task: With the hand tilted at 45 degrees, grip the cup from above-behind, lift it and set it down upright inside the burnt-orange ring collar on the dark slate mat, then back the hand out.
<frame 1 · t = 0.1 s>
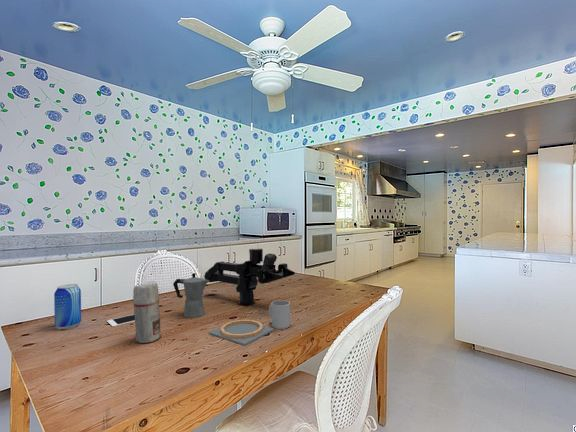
hand: (288, 275, 131), 17 cm above the table, tool horizontal, fingers open, 9 cm apart
spray can: (148, 339, 105), on the table
collar mat: (242, 331, 110), on the table
cup: (278, 325, 117), on the table
coffeepot: (191, 314, 130), on the table
cell phone: (133, 320, 126), on the table
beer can: (68, 327, 118), on the table
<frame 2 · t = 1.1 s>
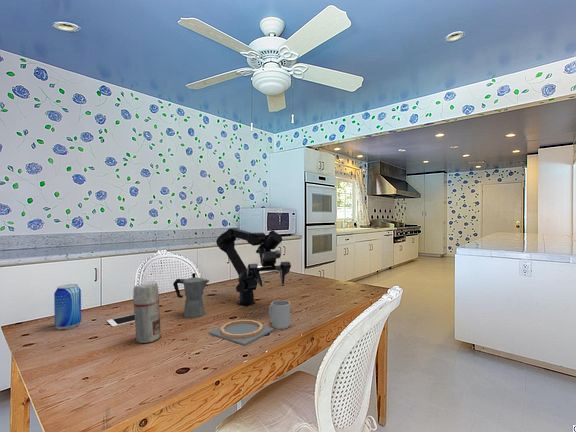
hand: (272, 285, 124), 14 cm above the table, tool tilted 45°, fingers open, 9 cm apart
nothing on the table moved.
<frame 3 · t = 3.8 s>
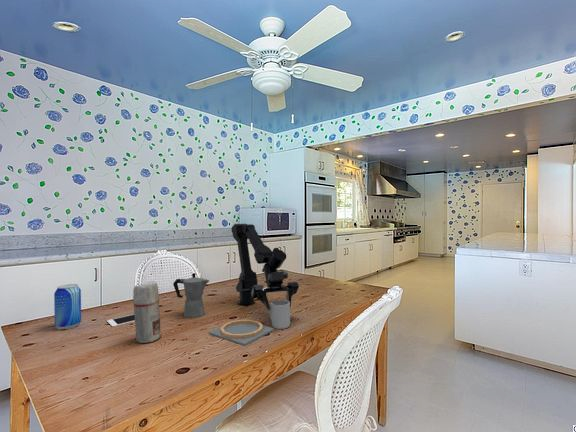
hand: (279, 308, 115), 7 cm above the table, tool tilted 45°, fingers open, 8 cm apart
cup: (278, 325, 117), on the table, touching gripper
everything else where it was.
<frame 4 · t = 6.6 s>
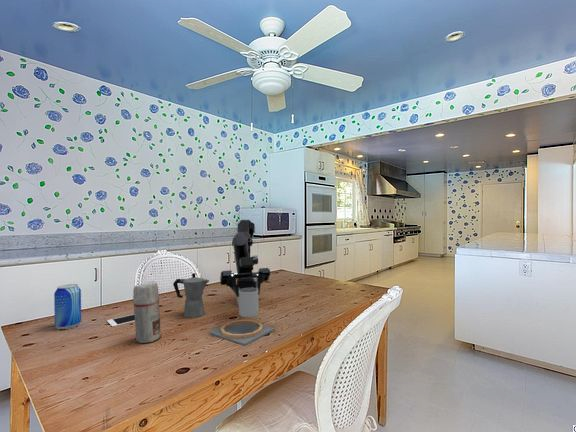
hand: (248, 295, 110), 13 cm above the table, tool tilted 45°, fingers closed on cup, 7 cm apart
cup: (246, 313, 111), point 6 cm above the table, touching gripper
everything else where it was.
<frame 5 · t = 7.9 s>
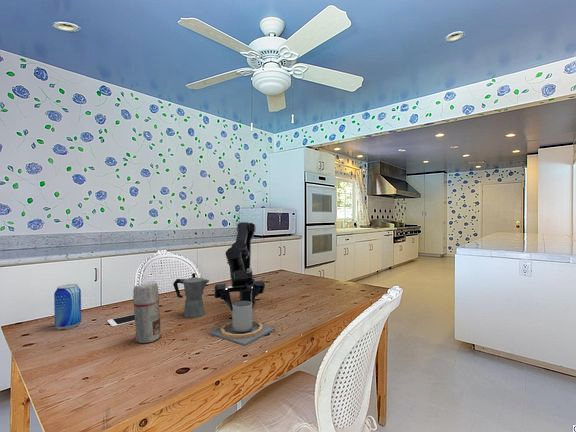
hand: (242, 309, 109), 9 cm above the table, tool tilted 45°, fingers closed on cup, 7 cm apart
cup: (240, 327, 110), point 2 cm above the table, touching gripper
everything else where it was.
when the fingers open (8 cm above the table, at t = 9.0 s): cup stays where it is, resting on collar mat.
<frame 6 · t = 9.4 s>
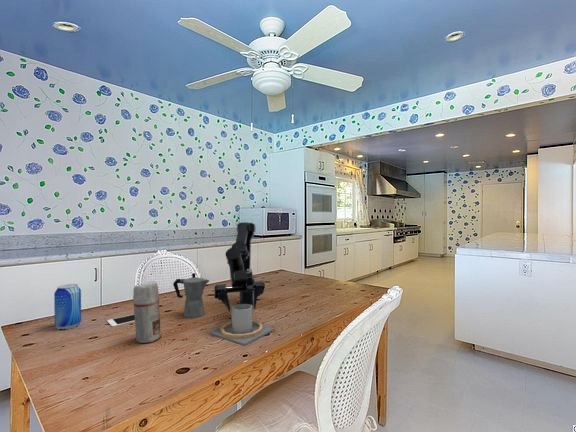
hand: (242, 309, 109), 9 cm above the table, tool tilted 45°, fingers open, 9 cm apart
cup: (240, 330, 110), resting on collar mat
everything else where it was.
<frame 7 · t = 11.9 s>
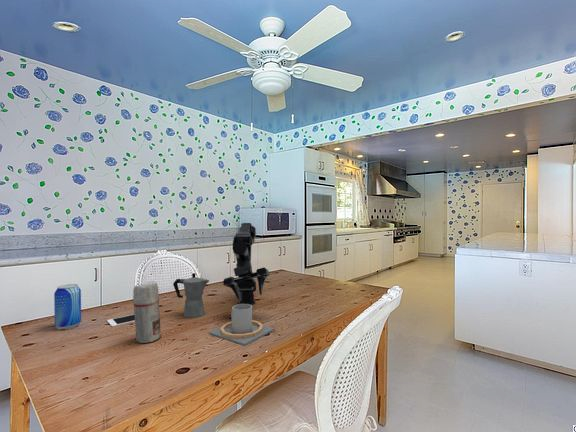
hand: (250, 297, 122), 9 cm above the table, tool tilted 25°, fingers open, 9 cm apart
nothing on the table moved.
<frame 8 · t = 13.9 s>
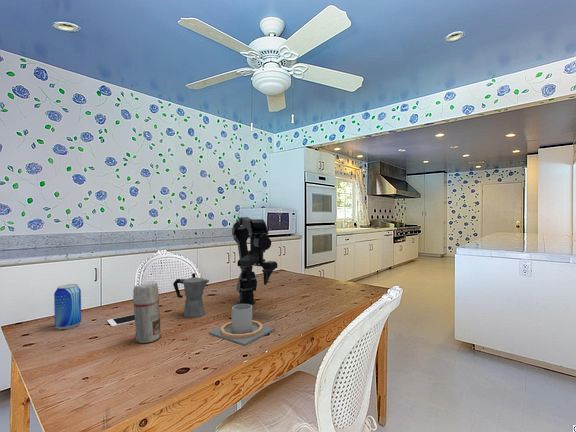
hand: (257, 283, 131), 13 cm above the table, tool pointing down, fingers open, 9 cm apart
nothing on the table moved.
at the end: cup 0.7 cm off-centre on the collar mat, point 0.4 cm above the collar mat's base; cup tilted 0°; the gripper is holding nothing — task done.
